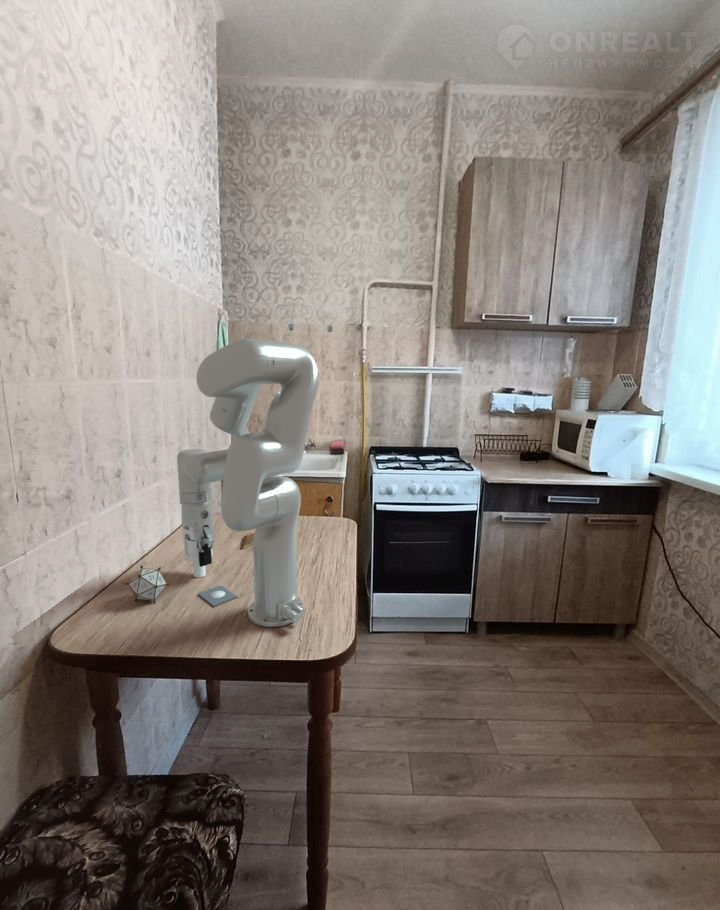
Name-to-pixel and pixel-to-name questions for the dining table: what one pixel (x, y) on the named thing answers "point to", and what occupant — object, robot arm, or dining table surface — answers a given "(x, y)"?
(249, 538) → the shard
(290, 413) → the robot arm
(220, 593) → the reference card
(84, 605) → the dining table surface
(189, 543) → the white cylindrical housing
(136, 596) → the game die
